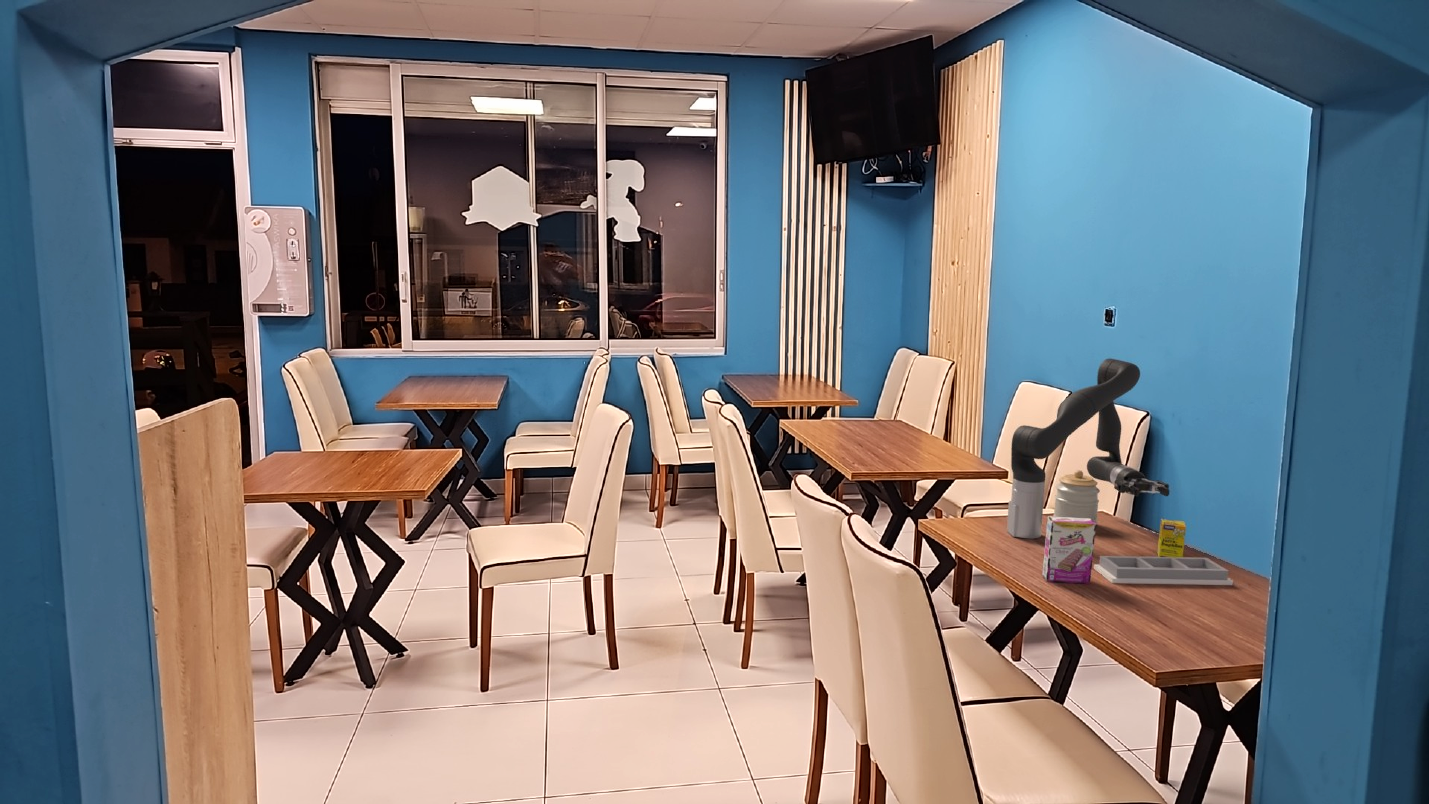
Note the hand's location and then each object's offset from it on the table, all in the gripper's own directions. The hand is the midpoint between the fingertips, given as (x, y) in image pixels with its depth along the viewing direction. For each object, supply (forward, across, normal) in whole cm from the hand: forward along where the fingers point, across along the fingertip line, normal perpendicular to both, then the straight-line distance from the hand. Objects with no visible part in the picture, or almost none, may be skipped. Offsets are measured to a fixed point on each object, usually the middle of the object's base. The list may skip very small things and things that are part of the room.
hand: (1153, 493), depth 260 cm
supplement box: (+13, 0, +16) cm, 21 cm away
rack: (+27, -10, +16) cm, 33 cm away
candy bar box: (+31, -37, +15) cm, 50 cm away
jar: (-21, -14, +16) cm, 30 cm away
